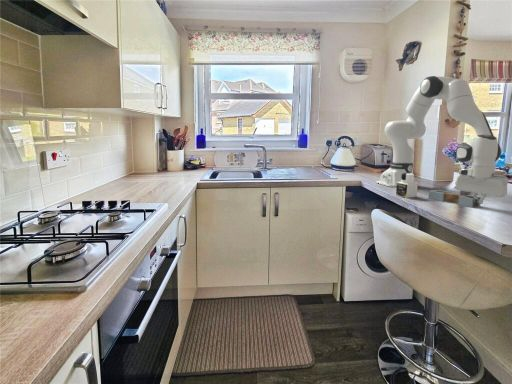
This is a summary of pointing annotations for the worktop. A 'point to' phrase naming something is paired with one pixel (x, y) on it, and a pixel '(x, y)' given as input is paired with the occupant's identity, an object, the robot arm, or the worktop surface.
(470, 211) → the worktop surface
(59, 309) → the worktop surface
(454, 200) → the slat
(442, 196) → the cap closed
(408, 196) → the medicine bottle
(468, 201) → the cap open
